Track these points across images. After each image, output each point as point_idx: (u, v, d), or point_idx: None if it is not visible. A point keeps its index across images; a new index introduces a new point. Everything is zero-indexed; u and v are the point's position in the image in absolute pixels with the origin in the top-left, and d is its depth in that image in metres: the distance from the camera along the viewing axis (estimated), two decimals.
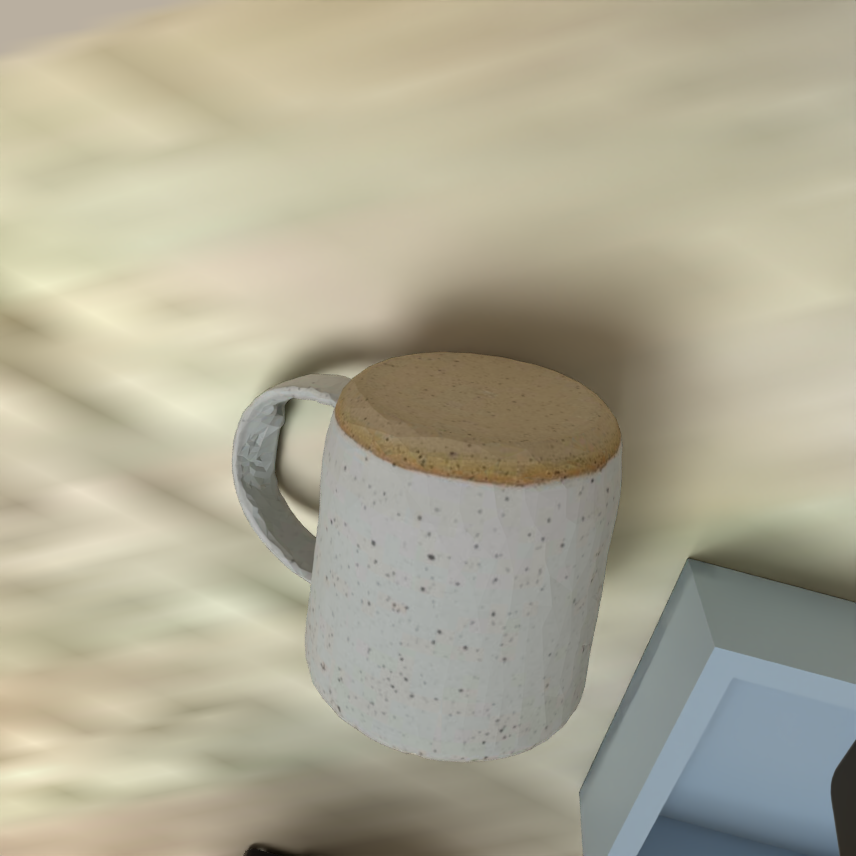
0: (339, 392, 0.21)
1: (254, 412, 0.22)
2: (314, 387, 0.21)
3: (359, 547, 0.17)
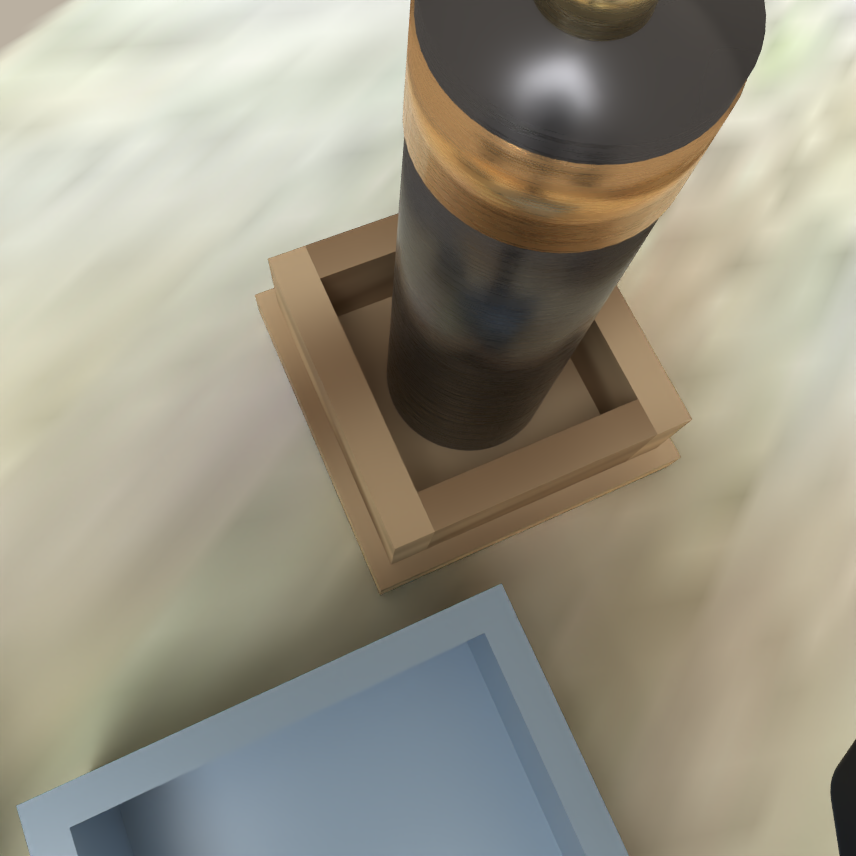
0: None
1: None
2: None
3: None
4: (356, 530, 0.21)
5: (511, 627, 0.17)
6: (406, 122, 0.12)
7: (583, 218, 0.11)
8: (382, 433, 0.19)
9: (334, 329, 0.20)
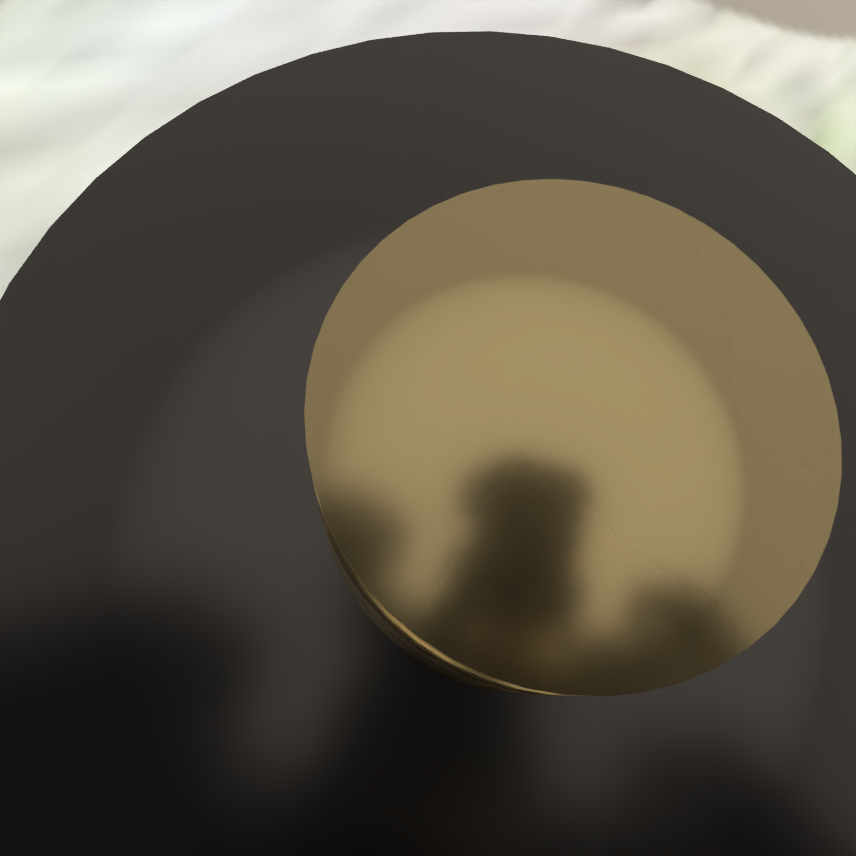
0: None
1: None
2: None
3: None
4: None
5: None
6: None
7: None
8: None
9: None
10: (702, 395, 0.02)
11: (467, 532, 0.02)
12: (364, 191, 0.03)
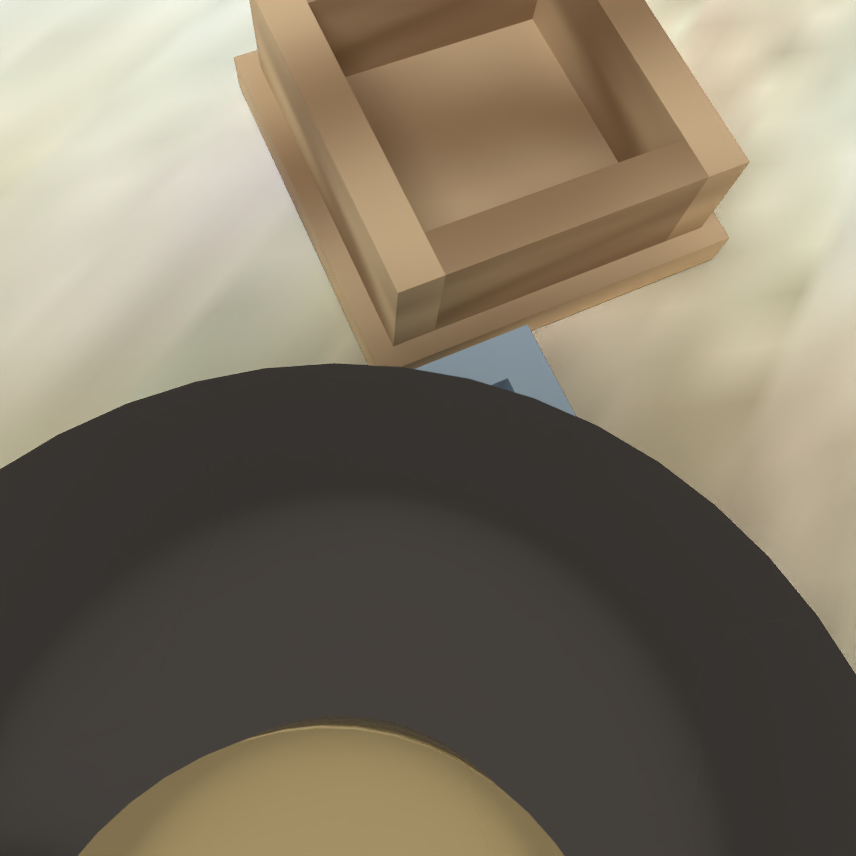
0: None
1: None
2: None
3: None
4: (352, 308, 0.18)
5: (540, 373, 0.14)
6: None
7: None
8: (382, 168, 0.16)
9: (324, 56, 0.17)
10: None
11: None
12: (173, 583, 0.03)
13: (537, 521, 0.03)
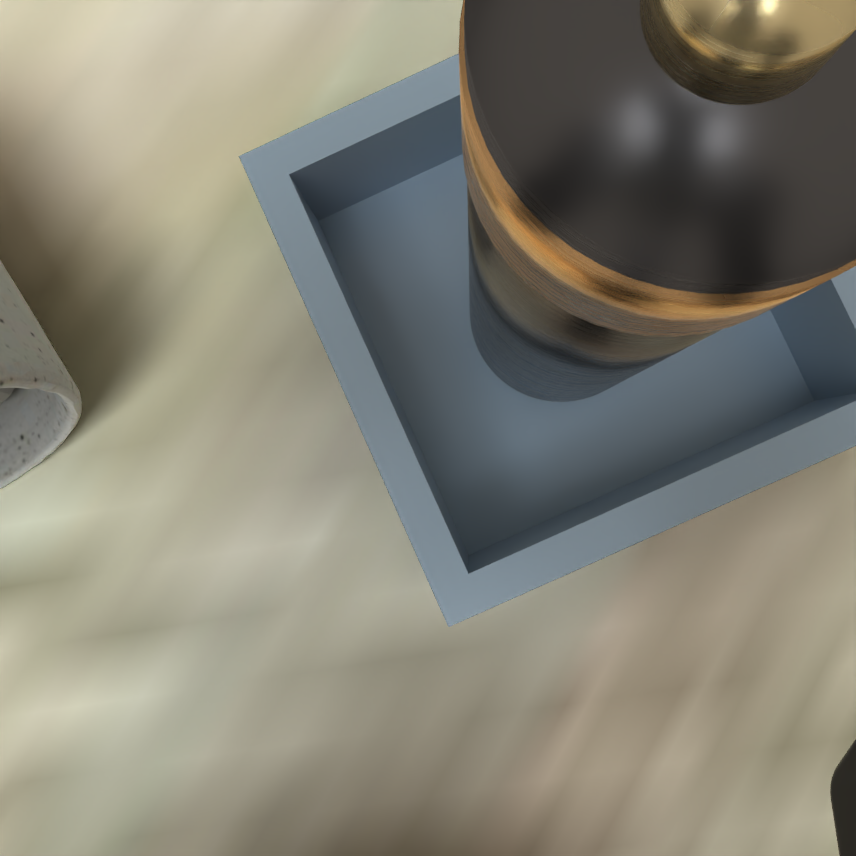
0: None
1: None
2: None
3: None
4: None
5: None
6: (465, 163, 0.09)
7: (709, 317, 0.08)
8: None
9: None
10: None
11: None
12: None
13: None
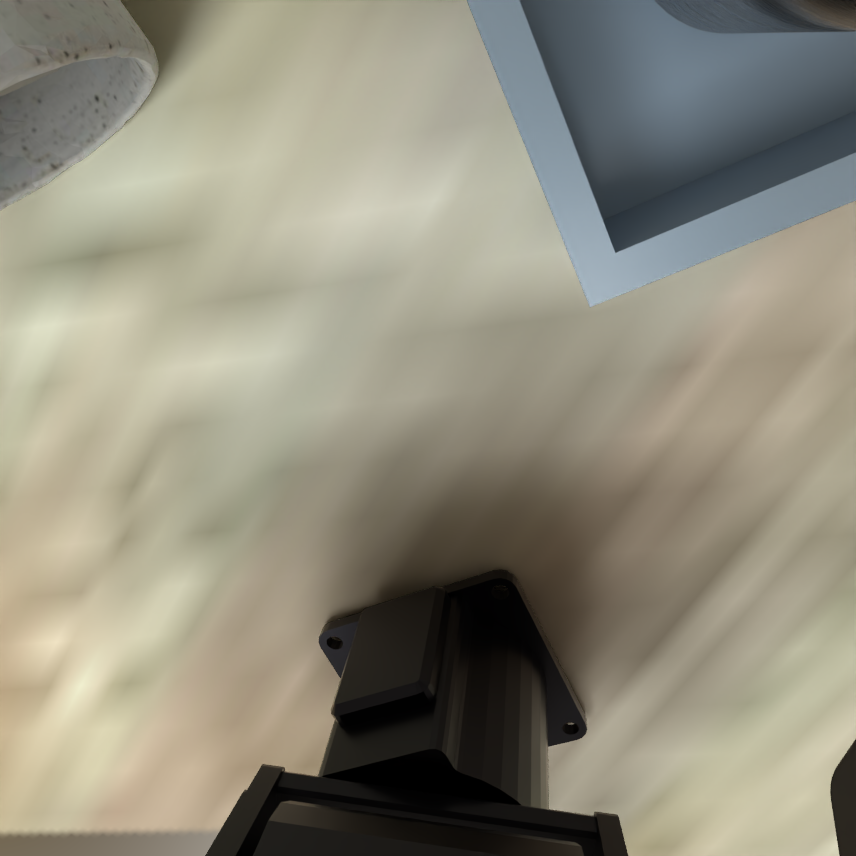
0: None
1: None
2: None
3: None
4: None
5: None
6: None
7: None
8: None
9: None
10: None
11: None
12: None
13: None
